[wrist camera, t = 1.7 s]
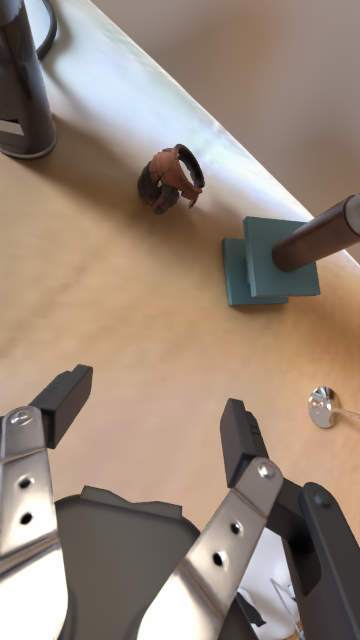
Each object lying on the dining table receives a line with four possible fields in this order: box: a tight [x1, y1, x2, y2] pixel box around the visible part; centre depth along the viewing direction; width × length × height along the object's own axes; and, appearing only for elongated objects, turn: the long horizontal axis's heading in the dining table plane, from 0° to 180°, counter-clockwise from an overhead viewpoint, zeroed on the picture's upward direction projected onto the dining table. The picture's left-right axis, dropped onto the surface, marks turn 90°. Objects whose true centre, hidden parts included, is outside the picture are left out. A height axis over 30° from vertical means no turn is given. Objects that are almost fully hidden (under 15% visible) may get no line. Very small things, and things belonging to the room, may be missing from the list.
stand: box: [222, 216, 320, 306], centre depth 39 cm, size 12×12×8 cm
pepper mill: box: [272, 193, 360, 272], centre depth 28 cm, size 5×5×15 cm
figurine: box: [236, 527, 305, 640], centre depth 28 cm, size 20×18×16 cm
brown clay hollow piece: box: [138, 144, 205, 215], centre depth 36 cm, size 12×10×8 cm
